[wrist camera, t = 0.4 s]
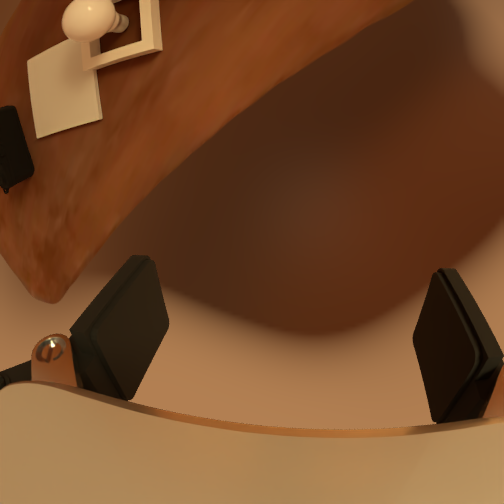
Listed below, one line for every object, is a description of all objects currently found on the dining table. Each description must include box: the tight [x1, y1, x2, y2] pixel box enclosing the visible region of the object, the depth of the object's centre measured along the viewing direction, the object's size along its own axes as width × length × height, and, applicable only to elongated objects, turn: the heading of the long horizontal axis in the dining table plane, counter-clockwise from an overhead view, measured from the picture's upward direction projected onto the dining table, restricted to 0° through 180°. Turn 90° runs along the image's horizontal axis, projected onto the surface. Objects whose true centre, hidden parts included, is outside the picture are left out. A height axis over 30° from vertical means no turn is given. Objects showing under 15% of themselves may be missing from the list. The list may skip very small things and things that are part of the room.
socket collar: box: [81, 0, 163, 71], centre depth 29 cm, size 11×11×2 cm
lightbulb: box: [62, 0, 129, 43], centre depth 25 cm, size 6×6×11 cm
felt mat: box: [27, 39, 103, 139], centre depth 35 cm, size 14×14×1 cm
